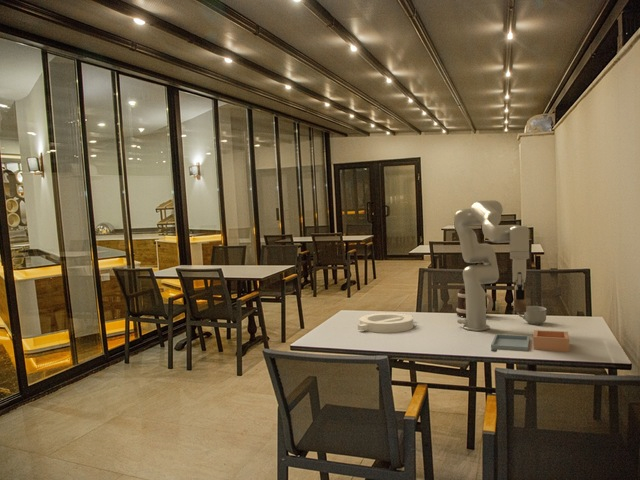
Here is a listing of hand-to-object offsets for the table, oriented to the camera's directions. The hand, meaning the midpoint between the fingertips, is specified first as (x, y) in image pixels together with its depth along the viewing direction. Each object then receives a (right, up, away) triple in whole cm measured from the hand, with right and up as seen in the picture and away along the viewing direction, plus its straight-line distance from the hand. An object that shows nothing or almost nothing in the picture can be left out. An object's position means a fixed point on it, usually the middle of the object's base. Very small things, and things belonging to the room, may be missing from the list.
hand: (520, 297), depth 206 cm
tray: (-3, -21, +2) cm, 21 cm away
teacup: (+24, -18, +45) cm, 54 cm away
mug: (+3, -19, +69) cm, 72 cm away
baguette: (0, -6, 0) cm, 6 cm away
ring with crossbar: (-50, -22, +52) cm, 75 cm away
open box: (+11, -21, -4) cm, 24 cm away
